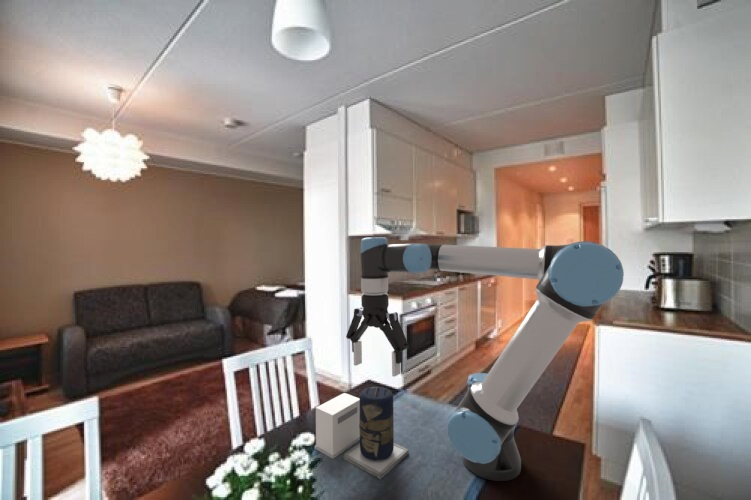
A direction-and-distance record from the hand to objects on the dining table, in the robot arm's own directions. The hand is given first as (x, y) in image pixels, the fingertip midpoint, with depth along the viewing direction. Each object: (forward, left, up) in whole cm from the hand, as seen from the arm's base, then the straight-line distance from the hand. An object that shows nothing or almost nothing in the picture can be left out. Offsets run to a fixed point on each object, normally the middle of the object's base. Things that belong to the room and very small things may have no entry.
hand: (376, 369), depth 91 cm
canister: (0, 0, -24) cm, 24 cm away
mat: (0, 0, -24) cm, 24 cm away
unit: (+13, +2, -24) cm, 28 cm away
